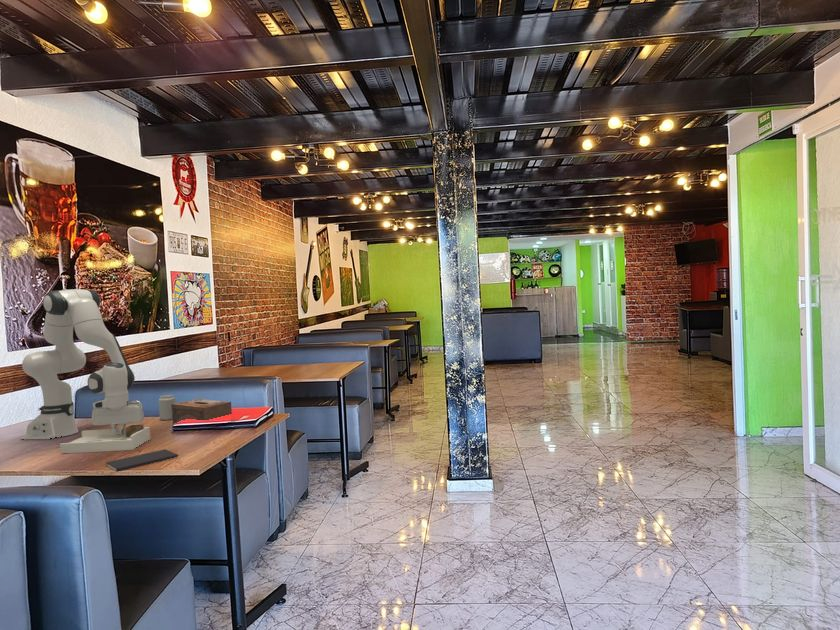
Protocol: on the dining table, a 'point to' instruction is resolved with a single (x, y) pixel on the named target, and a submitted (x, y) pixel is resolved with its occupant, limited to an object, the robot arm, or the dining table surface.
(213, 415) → the tissue box cover
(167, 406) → the can
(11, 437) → the dining table surface
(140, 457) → the notebook
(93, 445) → the box
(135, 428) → the walnut block
